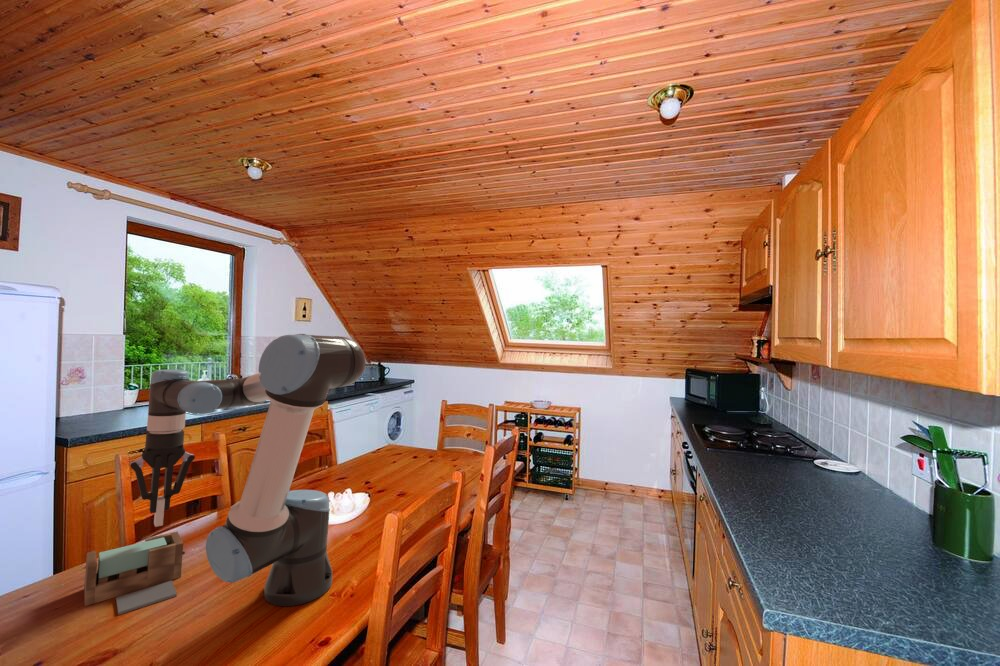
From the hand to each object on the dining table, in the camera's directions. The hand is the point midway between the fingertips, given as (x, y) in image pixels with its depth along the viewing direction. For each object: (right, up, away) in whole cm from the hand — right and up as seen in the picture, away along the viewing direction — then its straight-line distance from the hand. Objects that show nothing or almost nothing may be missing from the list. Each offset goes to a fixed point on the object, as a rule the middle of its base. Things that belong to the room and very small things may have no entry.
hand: (158, 524), depth 103 cm
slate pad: (+5, -13, -9) cm, 16 cm away
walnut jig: (-3, -13, -3) cm, 14 cm away
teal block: (-3, -8, -4) cm, 10 cm away
